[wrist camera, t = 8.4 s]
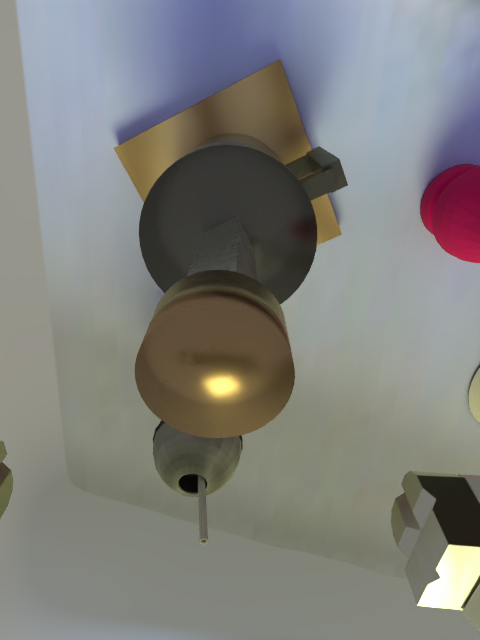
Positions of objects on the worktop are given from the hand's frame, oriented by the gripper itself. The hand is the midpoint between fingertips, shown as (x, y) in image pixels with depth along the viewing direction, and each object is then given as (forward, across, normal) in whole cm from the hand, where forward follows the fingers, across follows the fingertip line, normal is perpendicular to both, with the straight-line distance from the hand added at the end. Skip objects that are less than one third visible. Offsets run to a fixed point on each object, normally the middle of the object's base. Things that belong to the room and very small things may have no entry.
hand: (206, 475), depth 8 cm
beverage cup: (+30, -2, -18) cm, 35 cm away
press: (+29, +1, +1) cm, 29 cm away
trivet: (+30, 0, 0) cm, 30 cm away
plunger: (+15, 0, 0) cm, 15 cm away
